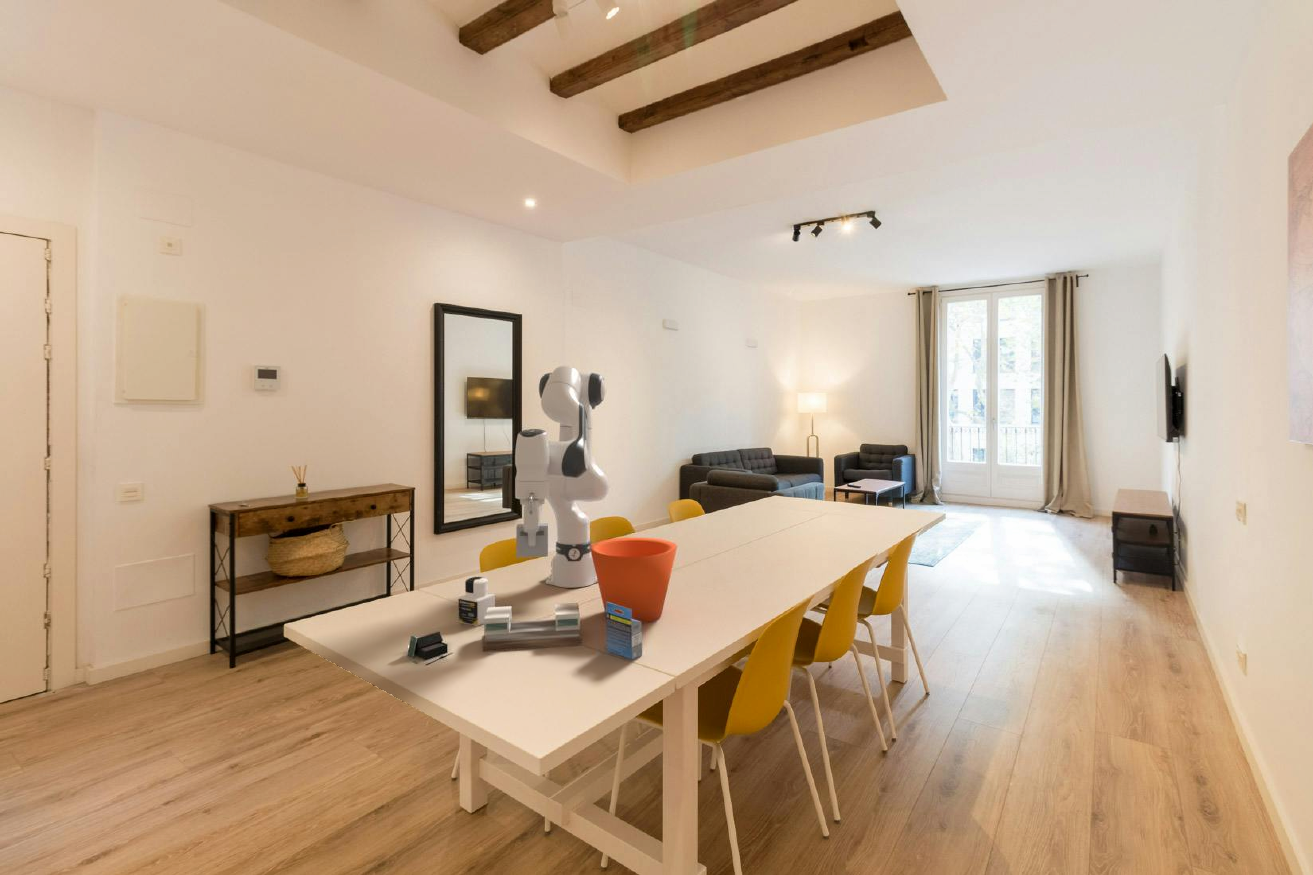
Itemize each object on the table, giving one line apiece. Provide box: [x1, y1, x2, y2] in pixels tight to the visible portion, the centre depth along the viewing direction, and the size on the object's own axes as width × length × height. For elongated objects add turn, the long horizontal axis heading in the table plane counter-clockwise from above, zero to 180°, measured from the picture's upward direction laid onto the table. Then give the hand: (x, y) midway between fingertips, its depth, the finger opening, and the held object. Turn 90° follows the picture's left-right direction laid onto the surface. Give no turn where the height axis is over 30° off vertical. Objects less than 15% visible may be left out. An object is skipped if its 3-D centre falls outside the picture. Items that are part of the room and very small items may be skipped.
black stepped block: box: [406, 631, 453, 666], centre depth 150 cm, size 15×15×6 cm
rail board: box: [481, 602, 582, 652], centre depth 159 cm, size 12×24×8 cm, turn 99°
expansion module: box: [515, 523, 549, 558], centre depth 163 cm, size 4×8×8 cm, turn 99°
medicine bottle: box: [458, 576, 496, 627], centre depth 173 cm, size 7×7×12 cm
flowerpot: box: [590, 536, 678, 625], centre depth 178 cm, size 25×25×20 cm
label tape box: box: [605, 602, 643, 661], centre depth 150 cm, size 9×4×12 cm, turn 49°
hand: (532, 543), depth 163 cm, fingers closed on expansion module, 4 cm apart
